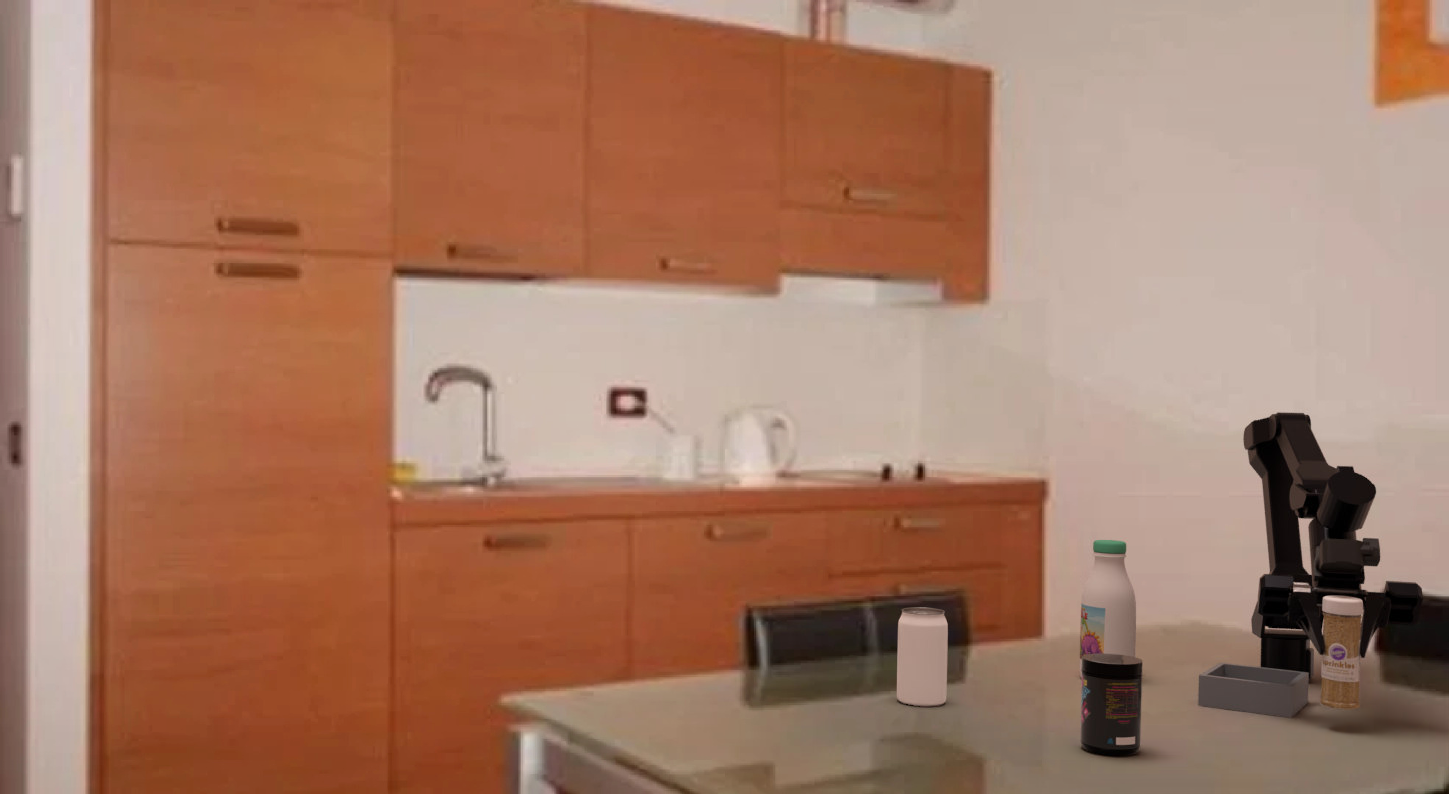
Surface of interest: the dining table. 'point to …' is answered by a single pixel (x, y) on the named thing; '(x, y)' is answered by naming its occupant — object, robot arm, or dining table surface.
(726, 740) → the dining table surface
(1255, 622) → the robot arm
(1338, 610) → the sprinkles bottle
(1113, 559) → the milk bottle
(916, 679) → the can
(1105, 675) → the supplement container
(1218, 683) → the bin
